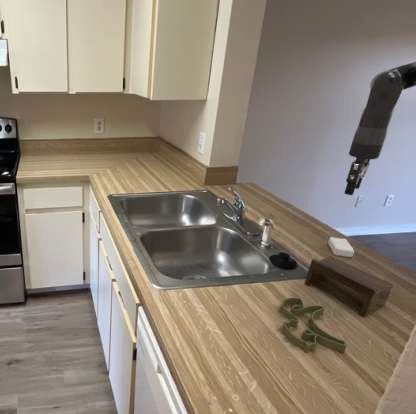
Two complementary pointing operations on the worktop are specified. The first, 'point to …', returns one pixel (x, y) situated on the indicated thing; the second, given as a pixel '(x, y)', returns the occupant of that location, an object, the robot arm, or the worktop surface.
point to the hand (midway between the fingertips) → (351, 191)
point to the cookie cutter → (307, 335)
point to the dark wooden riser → (351, 281)
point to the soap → (340, 247)
